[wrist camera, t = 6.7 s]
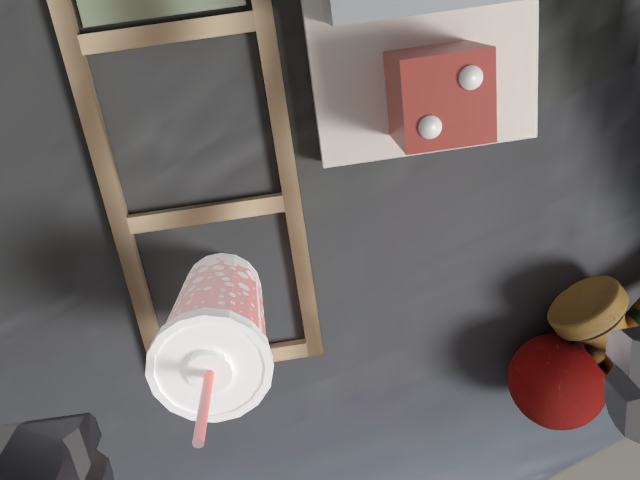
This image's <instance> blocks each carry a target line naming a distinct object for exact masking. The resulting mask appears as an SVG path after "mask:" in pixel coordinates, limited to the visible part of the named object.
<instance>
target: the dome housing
mask: <svg viewBox="0 0 640 480" xmlns="http://www.w3.org/2000/svg"><path fill="white" fill-rule="evenodd" d="M300 1H301V9H302V16H303V24H304V31H305V39H306V47H307V54H308V62H309V70H310V77H311V85H312V93H313V100H314V108H315V116H316V123H317V131H318V139H319V146H320V154H321V161H322V165H323V168H329V167H336V166H343V165H350V164H357V163H364V162H371V161H377V160H384V159H391V158H398V157H405V156H412V155H419V154H426V153H433V152H439V151H446V150H453V149H460V148H467V147H474V146H481V145H488V144H494V143H501V142H508V141H515V140H522V139H529V138H536V137H537V114H538V31H539V0H300Z"/></svg>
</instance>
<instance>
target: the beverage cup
mask: <svg viewBox="0 0 640 480" xmlns="http://www.w3.org/2000/svg"><path fill="white" fill-rule="evenodd" d="M273 369H274V362H273V355H272V352H271V349H270V346H269V342H268V339H267V337H266V330H265V320H264V310H263V300H262V291H261V283H260V280H259V277H258V273H257V271H256V270H255V269H254V268H253V267H252V266H251V264H250V263H249V262H248V261H246V260H244V259H242V258H240V257H238V256H237V255H234V254H225V253H217V254H213V255H209V256H205V257H204V258H203V259H201V260H200V261H198V262H197V263H196V264H194V266H193V267H192V269H191V271H190V272H189V274H188V276H187V278H186V280H185V282H184V284H183V287H182V289H181V291H180V293H179V295H178V298H177V300H176V302H175V304H174V306H173V309H172V311H171V313H170V315H169V318H168V320H167V322H166V324H165V325H163V326H162V327H161V328H160V330H159V332H158V333H157V335H156V337H155V338H154V340H153V342H152V343H151V345H150V348H149V350H148V352H147V356H146V370H145V377H146V379H147V381H148V384H149V386H150V389H151V391H152V393H153V396H154V397H155V398H157V399H158V400H159V401H160V402H161V403H162V404H163V405H164V406H165V407H166V408H167V409H168V410H169V411H170V412H173V413H175V414H177V415H180V416H182V417H184V418H187V419H189V420H191V421H196V424H195V430H194V436H193V441H192V445H193V446H194V447H195V448H201V447H203V445H204V440H205V434H206V427H207V422H213V423H217V422H221V421H226V420H230V419H234V418H238V417H240V416H242V415H244V414H245V413H247V412H248V411H250V410H251V409H253V408H254V407H256V406H257V405H259V403H260V402H261V400H262V399H263V397H264V396H265V395H266V393H267V392H268V390H269V389H270V387H271V381H272V375H273Z"/></svg>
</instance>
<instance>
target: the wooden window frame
mask: <svg viewBox="0 0 640 480" xmlns="http://www.w3.org/2000/svg"><path fill="white" fill-rule="evenodd" d="M76 2H77V6H78V9H79V13H80V17H81V21H82V24H83V28H85V27H92V26H99V25H106V24H113V23H121V22H128V21H135V20H142V19H149V18H157V17H164V16H171V15H178V14H185V13H192V12H200V11H207V10H214V9H221V8H228V7H236V6H243V5H246V0H76ZM251 2H252V8H253V10H252V11H245V12H237V13H230V14H223V15H216V16H209V17H202V18H194V19H187V20H180V21H173V22H166V23H158V24H151V25H144V26H137V27H130V28H123V29H115V30H108V31H101V32H94V33H87V34H80V31H79V28H78V24H77V20H76V16H75V13H74V9H73V5H72V2H71V0H47V4H48V7H49V11H50V14H51V18H52V21H53V25H54V29H55V32H56V36H57V39H58V43H59V46H60V50H61V53H62V57H63V60H64V64H65V67H66V71H67V75H68V78H69V82H70V85H71V89H72V92H73V96H74V99H75V103H76V106H77V110H78V113H79V117H80V121H81V124H82V128H83V131H84V135H85V138H86V142H87V145H88V149H89V152H90V156H91V159H92V163H93V167H94V170H95V174H96V177H97V181H98V184H99V188H100V191H101V195H102V198H103V202H104V205H105V209H106V213H107V216H108V220H109V223H110V227H111V230H112V234H113V237H114V241H115V244H116V248H117V251H118V255H119V259H120V262H121V266H122V269H123V273H124V276H125V280H126V283H127V287H128V290H129V294H130V297H131V301H132V305H133V308H134V312H135V315H136V319H137V322H138V326H139V329H140V333H141V336H142V340H143V343H144V347H145V350H146V354H147V352H148V350H149V348H150V345H151V343H152V342H153V340H154V338H155V337H156V335H157V333H158V332H159V326H158V323H157V319H156V315H155V311H154V308H153V304H152V300H151V296H150V293H149V289H148V285H147V282H146V278H145V274H144V270H143V267H142V263H141V259H140V255H139V252H138V248H137V244H136V240H135V237H134V234H137V233H144V232H150V231H157V230H164V229H171V228H178V227H185V226H191V225H198V224H205V223H212V222H219V221H225V220H232V219H239V218H246V217H253V216H260V215H266V214H273V213H280V212H285V214H286V220H287V227H288V233H289V239H290V245H291V252H292V258H293V264H294V270H295V277H296V283H297V289H298V295H299V302H300V308H301V314H302V320H303V327H304V333H305V339H298V340H292V341H285V342H279V343H272V344H269V346H270V349H271V352H272V355H273V362H276V361H282V360H289V359H295V358H302V357H309V356H315V355H322V354H324V353H323V346H322V340H321V333H320V326H319V319H318V313H317V306H316V299H315V292H314V286H313V279H312V272H311V265H310V259H309V252H308V245H307V238H306V232H305V225H304V218H303V211H302V205H301V198H300V191H299V185H298V178H297V171H296V164H295V158H294V151H293V144H292V137H291V131H290V124H289V117H288V110H287V104H286V97H285V90H284V83H283V77H282V70H281V63H280V56H279V50H278V43H277V36H276V29H275V23H274V16H273V9H272V2H271V0H251ZM254 31H256V33H257V39H258V46H259V52H260V58H261V64H262V71H263V77H264V83H265V89H266V96H267V102H268V108H269V114H270V121H271V127H272V133H273V139H274V146H275V152H276V158H277V164H278V171H279V177H280V183H281V189H282V192H281V193H274V194H267V195H261V196H254V197H247V198H240V199H233V200H226V201H219V202H213V203H206V204H199V205H192V206H185V207H178V208H172V209H165V210H158V211H151V212H144V213H137V214H130V215H129V214H128V211H127V207H126V203H125V199H124V196H123V192H122V188H121V184H120V181H119V177H118V173H117V170H116V166H115V162H114V158H113V155H112V151H111V147H110V143H109V140H108V136H107V132H106V128H105V125H104V121H103V117H102V114H101V110H100V106H99V102H98V99H97V95H96V91H95V87H94V84H93V80H92V76H91V72H90V69H89V65H88V61H87V58H86V55H89V54H97V53H104V52H111V51H118V50H125V49H132V48H139V47H146V46H154V45H161V44H168V43H175V42H182V41H189V40H196V39H204V38H211V37H218V36H225V35H232V34H239V33H246V32H254Z"/></svg>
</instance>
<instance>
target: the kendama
mask: <svg viewBox="0 0 640 480" xmlns="http://www.w3.org/2000/svg"><path fill="white" fill-rule="evenodd" d="M628 304H629V296H628V294H627V292H626V291H625V290H624V288H623V287H622V286H621V285H620V284H619V282H618V281H617V280H616V279H615V278H613V277H611V276H607V275H598V276H592V277H589V278H586V279H583V280H581V281H579V282H577V283H575V284H573V285H572V286H570V287H569V288H568V289H566V290H565V291H563V292H562V293H560V294H559V295H558V296H557V297H556V298H555V300H554V301H553V302H552V304H551V306H550V308H549V310H548V313H547V319H548V322H549V324H550V325H551V326H552V328H553V329H554V331H555V332H556V334H543V335H540V336H537V337H534V338H532V339H530V340H528V341H527V342H525V343H524V344H523V345H522V346H520V347H519V349H518V350H517V351H516V352H515V354H514V355H513V357H512V359H511V361H510V364H509V367H508V372H507V382H508V387H509V391H510V394H511V396H512V398H513V400H514V402H515V404H516V405H517V407H518V408H519V409H520V411H521V412H522V413H523V414H524V415H525V416H526V417H528V418H529V419H530V420H532V421H533V422H535V423H536V424H538V425H540V426H543V427H545V428H548V429H553V430H571V429H575V428H578V427H581V426H583V425H586V424H587V423H589V422H590V421H592V420H593V419H594V418H595V417H596V416H597V415H598V414H599V413H600V412H601V410H602V408H603V407H604V405H605V398H604V378H605V377H606V375H607V374H608V373H609V371H610V370H611V369H612V367H613V366H614V364H613V362H612V361H611V360H610V359H609V358H608V356H607V355H606V344H607V339H608V336H609V334H610V332H611V331H613V330H619V329H625V328H630V327H636V326H640V298H639V299H638V300H637V301H636V302H635V303H634V304H633V305H632V307H631V308H630V309H629V310H628V311H627V312H626V310H627V307H628ZM625 312H626V313H625Z"/></svg>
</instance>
